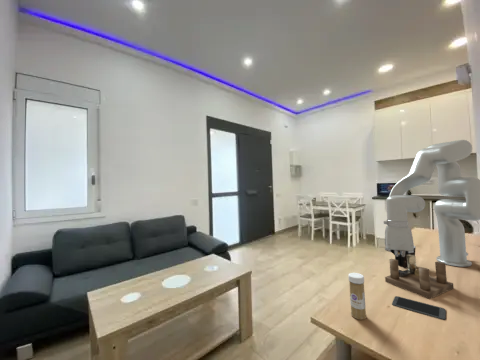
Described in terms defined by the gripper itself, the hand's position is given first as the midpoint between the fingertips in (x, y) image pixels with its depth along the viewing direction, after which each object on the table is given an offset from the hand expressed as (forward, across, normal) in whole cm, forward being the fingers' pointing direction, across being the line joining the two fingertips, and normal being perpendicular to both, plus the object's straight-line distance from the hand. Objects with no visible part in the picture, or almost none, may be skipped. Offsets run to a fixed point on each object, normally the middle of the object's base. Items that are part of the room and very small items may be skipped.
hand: (399, 264), depth 98 cm
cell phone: (+6, -1, -26) cm, 27 cm away
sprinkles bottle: (+6, -20, -37) cm, 43 cm away
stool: (+5, +4, -8) cm, 10 cm away
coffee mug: (+5, +5, +15) cm, 17 cm away
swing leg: (+3, +2, -3) cm, 4 cm away
